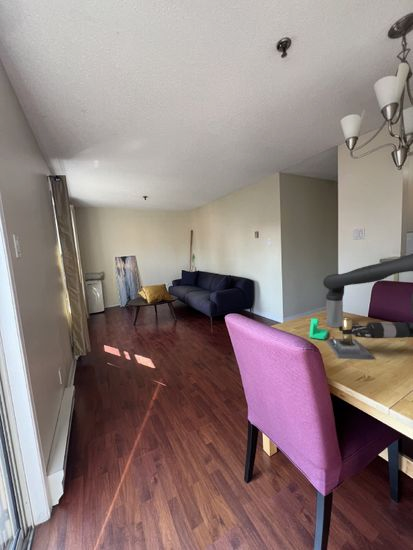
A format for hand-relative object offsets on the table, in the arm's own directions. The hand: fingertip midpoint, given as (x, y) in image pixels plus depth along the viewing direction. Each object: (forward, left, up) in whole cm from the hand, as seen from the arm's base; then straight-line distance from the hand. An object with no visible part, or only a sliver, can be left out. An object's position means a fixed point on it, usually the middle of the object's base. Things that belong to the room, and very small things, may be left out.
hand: (341, 330), depth 112 cm
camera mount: (-20, -5, -11) cm, 23 cm away
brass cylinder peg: (0, +3, -7) cm, 7 cm away
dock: (-2, +4, -11) cm, 12 cm away
